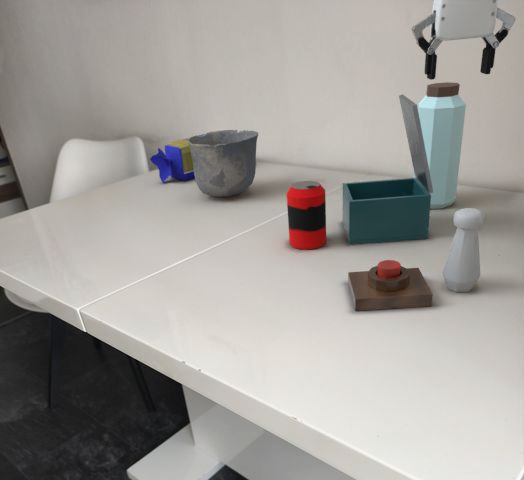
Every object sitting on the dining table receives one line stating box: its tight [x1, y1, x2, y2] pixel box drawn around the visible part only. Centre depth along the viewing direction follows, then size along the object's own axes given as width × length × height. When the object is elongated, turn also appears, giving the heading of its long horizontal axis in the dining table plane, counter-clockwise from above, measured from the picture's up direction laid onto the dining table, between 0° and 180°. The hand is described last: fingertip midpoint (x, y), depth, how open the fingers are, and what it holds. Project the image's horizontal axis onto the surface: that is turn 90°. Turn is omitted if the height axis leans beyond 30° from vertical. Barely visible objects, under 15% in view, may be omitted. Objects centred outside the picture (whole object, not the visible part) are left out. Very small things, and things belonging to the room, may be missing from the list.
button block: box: [347, 265, 434, 312], centre depth 88 cm, size 12×10×4 cm
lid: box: [398, 94, 433, 193], centre depth 104 cm, size 16×13×1 cm
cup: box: [188, 129, 259, 198], centre depth 140 cm, size 18×18×15 cm
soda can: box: [286, 180, 327, 251], centre depth 108 cm, size 8×8×12 cm
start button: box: [377, 259, 402, 278], centre depth 87 cm, size 4×4×2 cm
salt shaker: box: [442, 207, 484, 293], centre depth 86 cm, size 6×6×13 cm
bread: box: [149, 133, 205, 183], centre depth 163 cm, size 10×25×10 cm, turn 130°
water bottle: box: [412, 81, 467, 210], centre depth 118 cm, size 10×10×25 cm
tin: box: [342, 177, 431, 245], centre depth 111 cm, size 16×13×9 cm
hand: (457, 76), depth 97 cm, fingers open, 9 cm apart
